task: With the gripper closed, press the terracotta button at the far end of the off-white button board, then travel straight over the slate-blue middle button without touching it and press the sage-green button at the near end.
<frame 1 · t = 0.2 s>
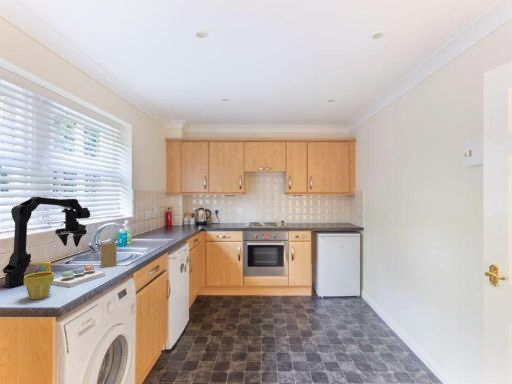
hand: (71, 246, 161), 15 cm above the countertop, tool pointing down, fingers open, 9 cm apart
sage button: (67, 273, 138), point 5 cm above the countertop, slide at 0.0 cm
button board: (78, 279, 144), on the countertop
sandwich container: (108, 265, 175), on the countertop
plant pot: (39, 297, 120), on the countertop
terracotta button: (89, 267, 149), point 5 cm above the countertop, slide at 0.0 cm
slate button: (78, 270, 144), point 5 cm above the countertop, slide at 0.0 cm
candy box: (34, 278, 148), on the countertop
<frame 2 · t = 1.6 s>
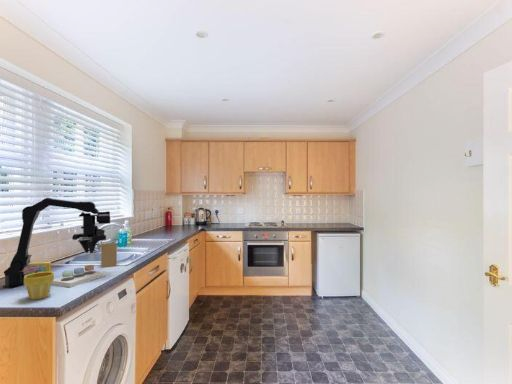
hand: (89, 252, 149), 13 cm above the countertop, tool pointing down, fingers open, 3 cm apart
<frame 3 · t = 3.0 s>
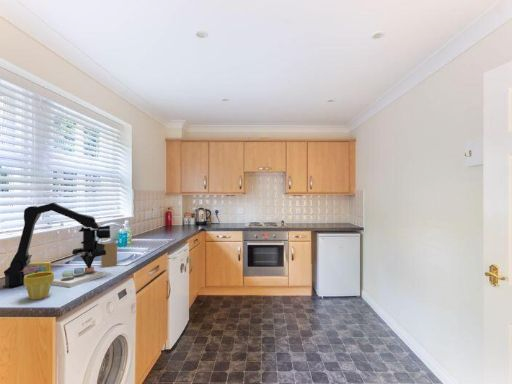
hand: (89, 267, 149), 5 cm above the countertop, tool pointing down, fingers closed, pressing on terracotta button
terracotta button: (89, 269, 149), point 4 cm above the countertop, slide at 1.0 cm, touching gripper
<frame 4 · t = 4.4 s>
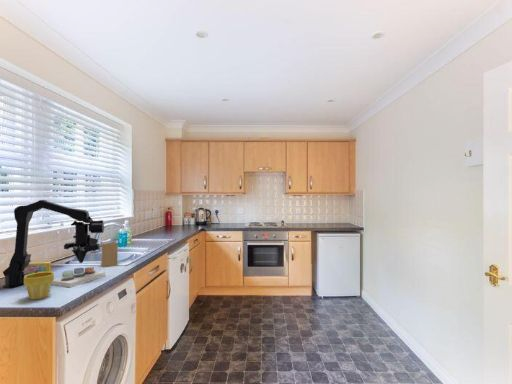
hand: (81, 262, 145), 9 cm above the countertop, tool pointing down, fingers closed
terracotta button: (89, 270, 149), point 4 cm above the countertop, slide at 1.2 cm
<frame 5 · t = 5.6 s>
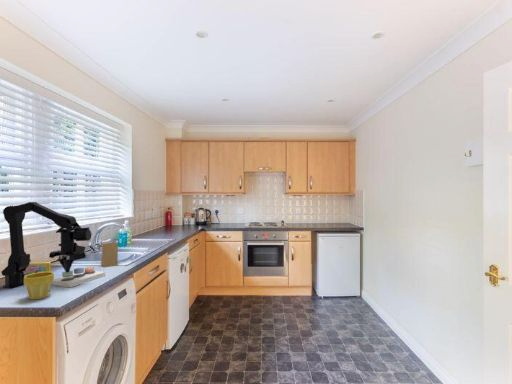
hand: (67, 272, 138), 6 cm above the countertop, tool pointing down, fingers closed, pressing on sage button
sage button: (67, 273, 138), point 5 cm above the countertop, slide at 0.0 cm, touching gripper
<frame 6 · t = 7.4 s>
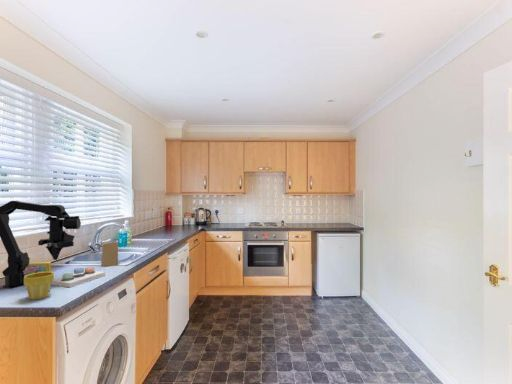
hand: (55, 259, 140), 12 cm above the countertop, tool pointing down, fingers closed
sage button: (67, 276, 138), point 4 cm above the countertop, slide at 1.2 cm
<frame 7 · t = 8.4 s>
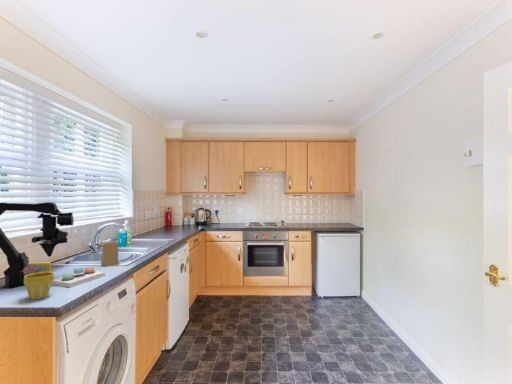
hand: (49, 256, 141), 13 cm above the countertop, tool pointing down, fingers closed
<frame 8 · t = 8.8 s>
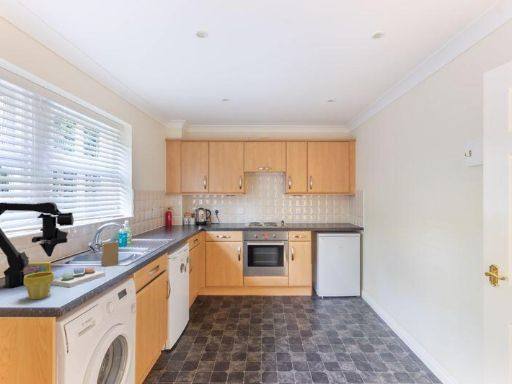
hand: (49, 256, 141), 13 cm above the countertop, tool pointing down, fingers closed
at the end: terracotta button slide at 1.2 cm; sage button slide at 1.2 cm; slate button slide at 0.0 cm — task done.
